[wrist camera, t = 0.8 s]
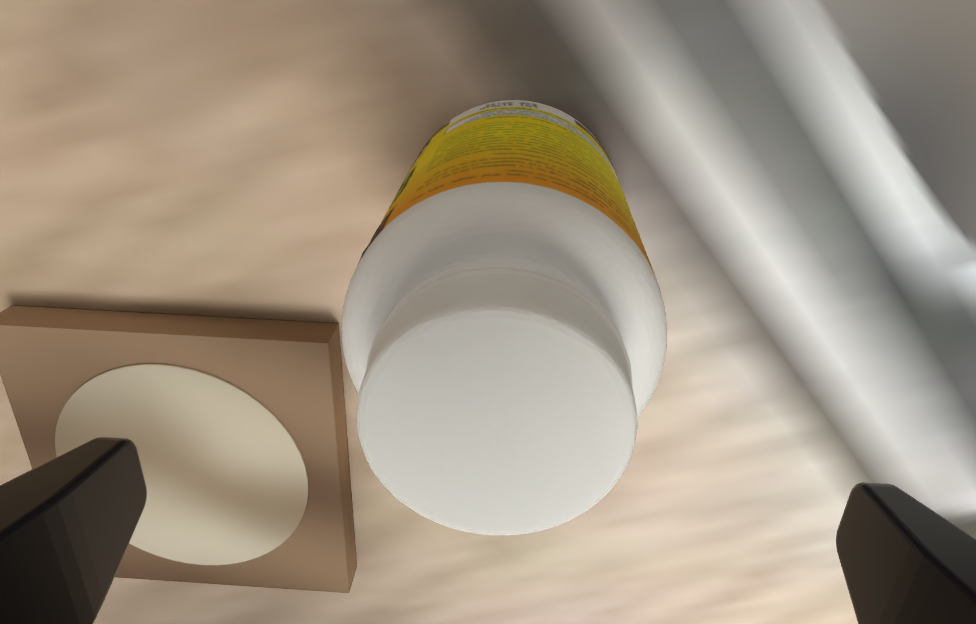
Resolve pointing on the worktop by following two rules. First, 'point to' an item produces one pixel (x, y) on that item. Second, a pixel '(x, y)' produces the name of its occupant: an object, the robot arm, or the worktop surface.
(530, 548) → the worktop surface
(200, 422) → the walnut board
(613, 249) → the supplement bottle
